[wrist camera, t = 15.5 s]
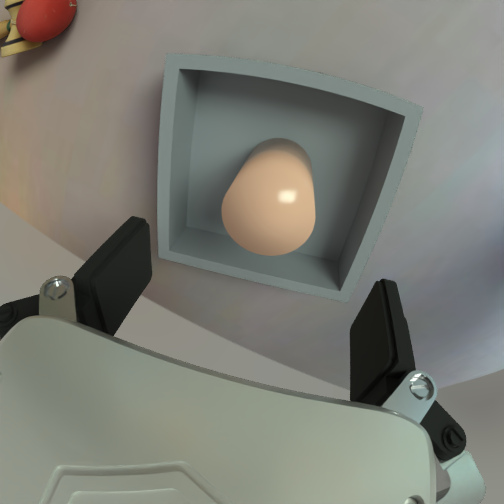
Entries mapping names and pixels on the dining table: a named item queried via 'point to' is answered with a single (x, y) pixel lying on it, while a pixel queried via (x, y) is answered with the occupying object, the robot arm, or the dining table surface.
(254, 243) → the beige rounded capsule
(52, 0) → the kendama
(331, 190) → the bin
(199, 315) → the dining table surface
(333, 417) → the robot arm
